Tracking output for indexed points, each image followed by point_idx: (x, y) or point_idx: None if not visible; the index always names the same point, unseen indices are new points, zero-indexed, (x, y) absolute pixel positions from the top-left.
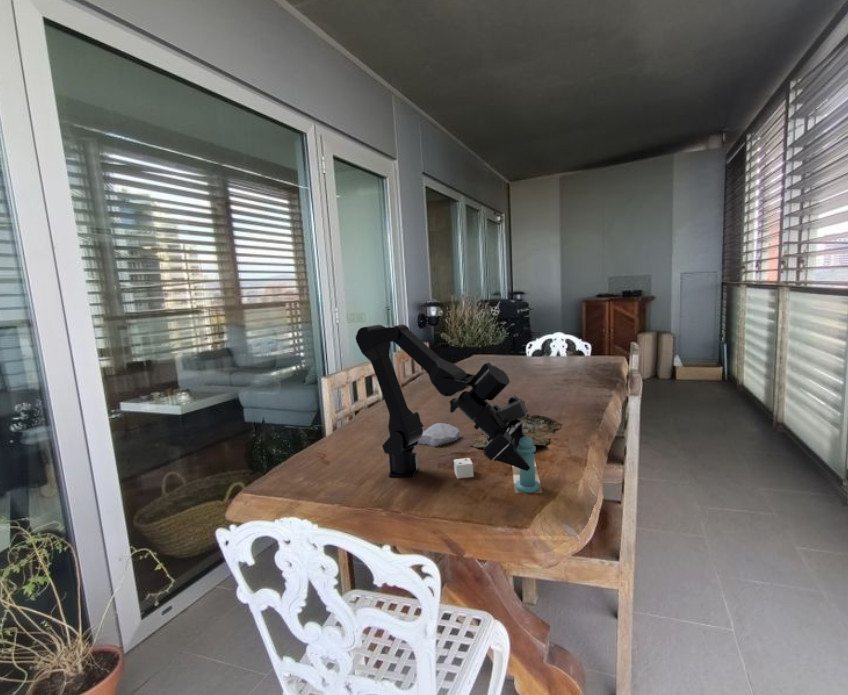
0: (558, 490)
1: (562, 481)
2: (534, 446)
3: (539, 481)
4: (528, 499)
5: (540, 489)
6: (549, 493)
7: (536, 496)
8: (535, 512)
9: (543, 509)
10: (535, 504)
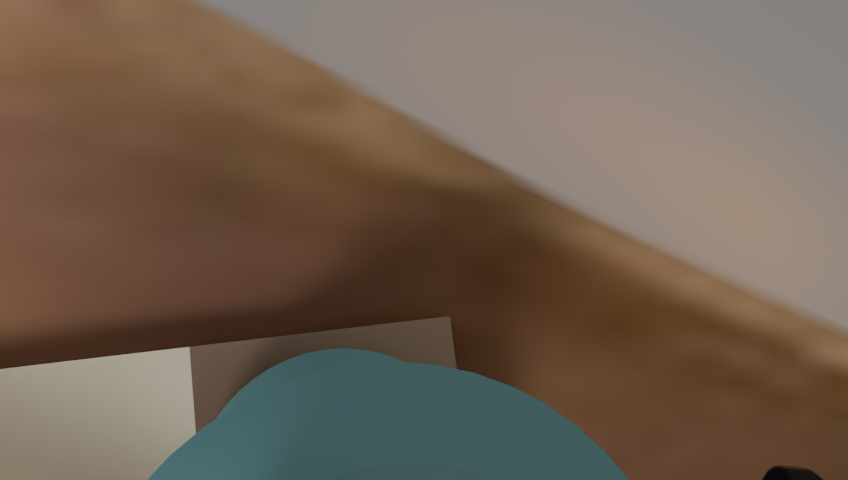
0: (298, 154)
1: (49, 100)
2: (293, 406)
3: (131, 358)
4: None
5: (364, 340)
6: (382, 248)
7: None
8: (802, 378)
9: (732, 306)
10: (649, 385)
